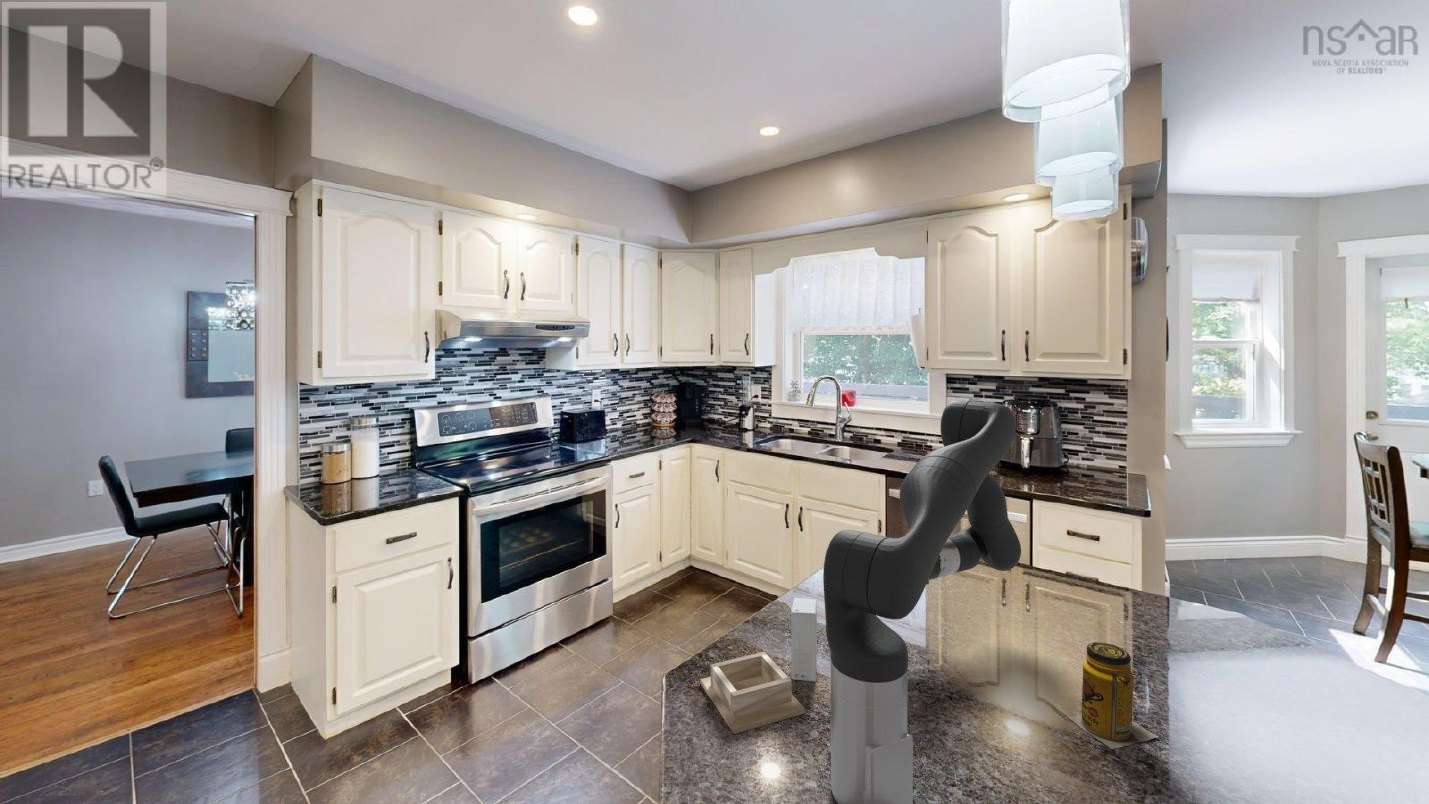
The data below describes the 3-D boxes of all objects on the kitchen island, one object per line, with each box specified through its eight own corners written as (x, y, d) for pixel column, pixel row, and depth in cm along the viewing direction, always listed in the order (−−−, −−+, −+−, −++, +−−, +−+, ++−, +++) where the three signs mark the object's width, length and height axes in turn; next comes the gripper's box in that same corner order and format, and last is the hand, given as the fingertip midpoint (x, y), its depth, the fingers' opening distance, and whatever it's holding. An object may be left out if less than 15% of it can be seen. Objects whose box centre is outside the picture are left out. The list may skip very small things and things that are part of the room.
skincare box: (816, 682, 95) (816, 614, 94) (791, 680, 96) (790, 612, 95) (817, 663, 101) (816, 598, 100) (793, 661, 102) (792, 597, 101)
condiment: (1066, 718, 85) (1069, 641, 84) (1111, 708, 87) (1114, 633, 86) (1111, 750, 78) (1114, 667, 77) (1159, 739, 80) (1162, 658, 79)
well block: (804, 713, 87) (804, 686, 87) (733, 734, 83) (733, 706, 82) (763, 667, 100) (763, 644, 100) (700, 683, 96) (699, 659, 95)
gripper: (902, 529, 114) (834, 541, 108) (957, 551, 101) (883, 567, 95) (902, 565, 115) (835, 579, 109) (956, 592, 102) (883, 609, 96)
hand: (857, 573), depth 102 cm, fingers open, 8 cm apart
